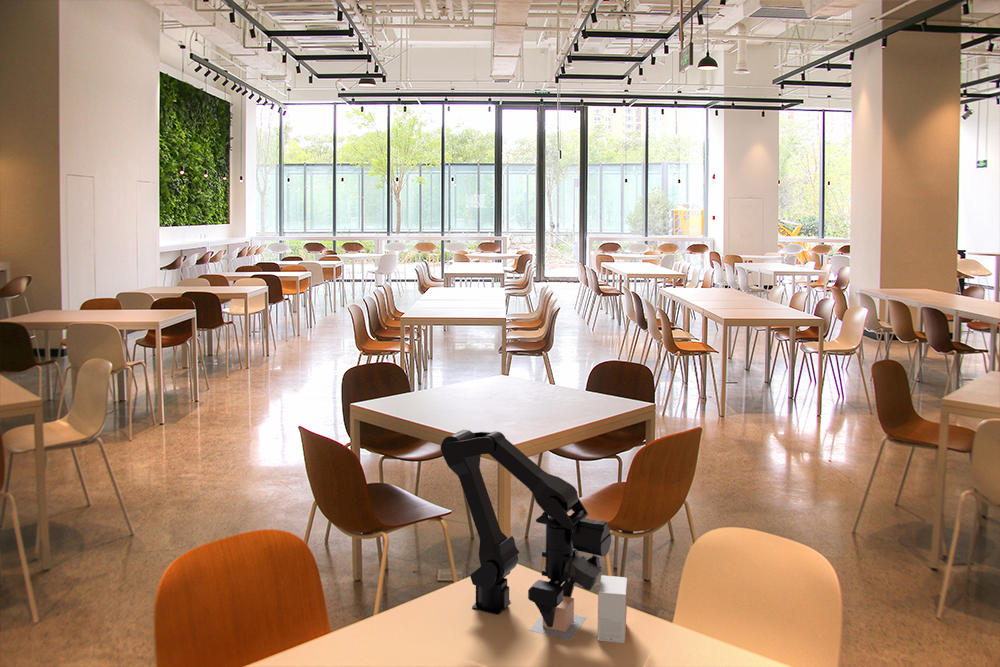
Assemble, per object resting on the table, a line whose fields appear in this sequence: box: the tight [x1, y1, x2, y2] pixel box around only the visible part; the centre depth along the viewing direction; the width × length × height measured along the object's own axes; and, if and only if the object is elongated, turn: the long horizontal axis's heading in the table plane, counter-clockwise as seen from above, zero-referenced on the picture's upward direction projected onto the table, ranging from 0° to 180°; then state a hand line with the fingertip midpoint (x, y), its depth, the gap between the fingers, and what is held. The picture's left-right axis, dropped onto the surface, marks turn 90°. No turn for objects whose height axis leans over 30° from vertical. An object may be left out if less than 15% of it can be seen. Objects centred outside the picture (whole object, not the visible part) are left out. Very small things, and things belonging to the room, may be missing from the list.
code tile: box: [529, 614, 587, 642], centre depth 161 cm, size 9×10×1 cm
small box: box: [596, 574, 628, 644], centre depth 157 cm, size 8×6×10 cm
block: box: [543, 596, 575, 632], centre depth 160 cm, size 5×5×5 cm
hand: (558, 616), depth 160 cm, fingers open, 9 cm apart
